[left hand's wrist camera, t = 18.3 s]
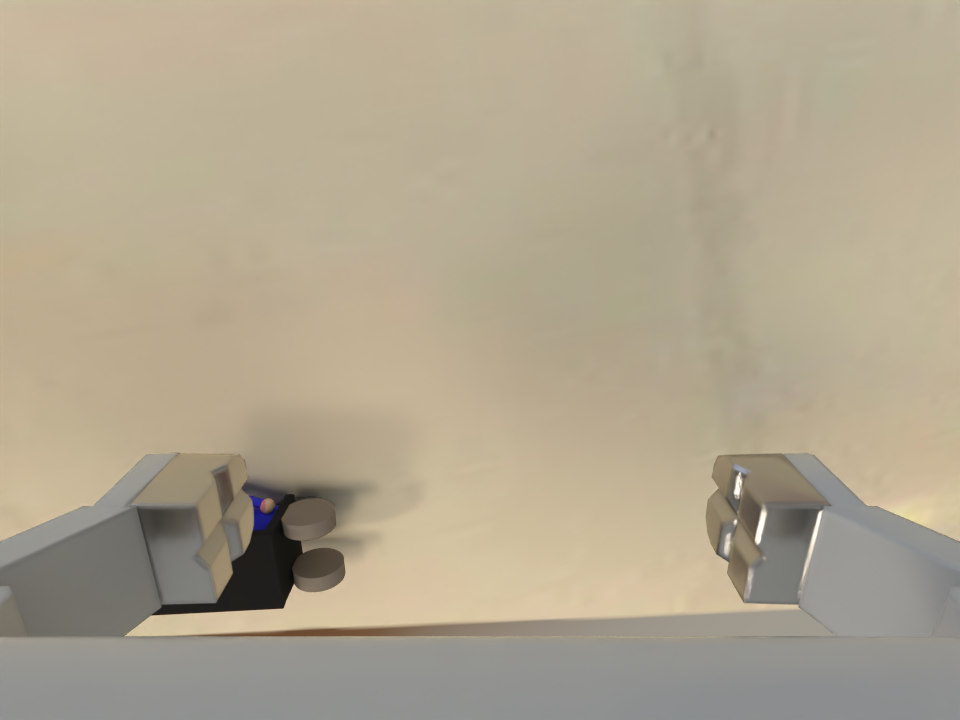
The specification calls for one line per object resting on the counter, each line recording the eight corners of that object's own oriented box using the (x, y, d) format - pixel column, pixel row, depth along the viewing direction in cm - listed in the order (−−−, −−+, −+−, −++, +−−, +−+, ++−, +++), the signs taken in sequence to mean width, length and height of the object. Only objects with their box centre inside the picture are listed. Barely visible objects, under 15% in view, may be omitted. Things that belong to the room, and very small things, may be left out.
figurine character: (341, 463, 45) (136, 482, 44) (329, 525, 38) (84, 550, 37) (352, 535, 47) (158, 556, 46) (342, 605, 40) (113, 632, 39)
